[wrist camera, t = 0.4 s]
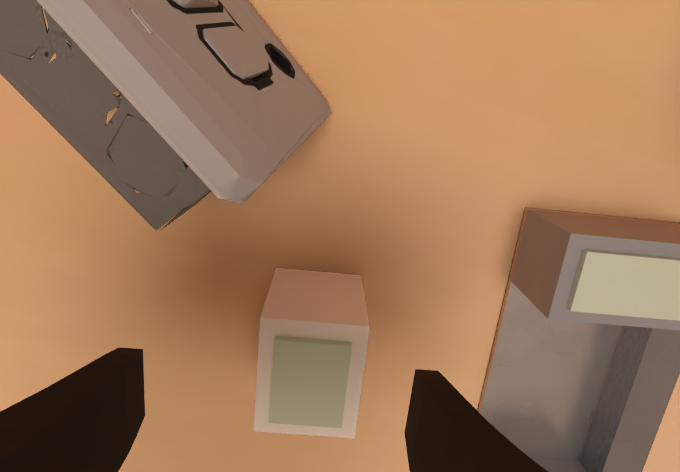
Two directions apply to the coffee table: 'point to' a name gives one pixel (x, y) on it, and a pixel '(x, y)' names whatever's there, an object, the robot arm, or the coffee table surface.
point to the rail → (578, 383)
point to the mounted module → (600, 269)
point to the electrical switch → (163, 93)
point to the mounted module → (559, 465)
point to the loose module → (311, 354)
